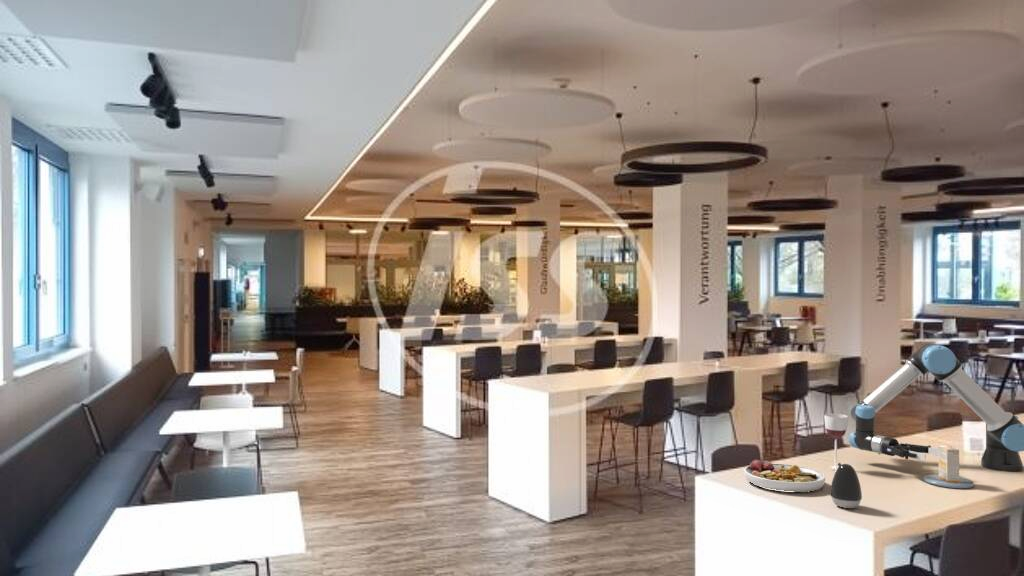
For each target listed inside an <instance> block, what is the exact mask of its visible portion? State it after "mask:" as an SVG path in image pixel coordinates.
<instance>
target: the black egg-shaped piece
mask: <svg viewBox="0 0 1024 576" xmlns="http://www.w3.org/2000/svg"><path fill="white" fill-rule="evenodd" d="M837 467H838V468H837V470H836V471H834V475H833V478H832V481H831V484H830V485H831V486H830V490H829V491H830V492H829V493H830V494H829V495H830V496H831V500H832V502H833V504H834V505H835V506H837V507H838V506H840V507H839V508H841V507H845V508H853V509H855V507H856V508H857V507H858V506H859V505H860V504H861V501H862V499H863V494H862V487H861V483H860V480H859V476H858V473H857V472H856V470H855V468H854V467H853V466H852V465H851V464H848V463H843V464H842V463H841V462H837ZM845 508H844V509H845Z"/></svg>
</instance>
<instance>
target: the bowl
mask: <svg viewBox="0 0 1024 576" xmlns="http://www.w3.org/2000/svg"><path fill="white" fill-rule="evenodd" d="M743 473H744V477H745V479H746V480H747V481H748V483H750V482H751V483H753V484H755V485H758V486H762V487H765V488H770V489H776V490H784V491H794V492H808V491H813V492H816V491H818V490H820V489H821V488H822V487H823V486H824V485H825V483H826V476H825V474H824V473H822V472H820V471H818V470H816V469H813V468H809V467H805V466H799V465H797V464H785V463H772V462H771V461H769V460H763V461H761V460H760V459H754V460H752V461H750V463H749V465H747V466H745V468H744V469H743ZM751 483H750V484H751ZM753 484H752V485H753ZM815 490H816V491H815ZM808 493H809V492H808Z"/></svg>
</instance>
